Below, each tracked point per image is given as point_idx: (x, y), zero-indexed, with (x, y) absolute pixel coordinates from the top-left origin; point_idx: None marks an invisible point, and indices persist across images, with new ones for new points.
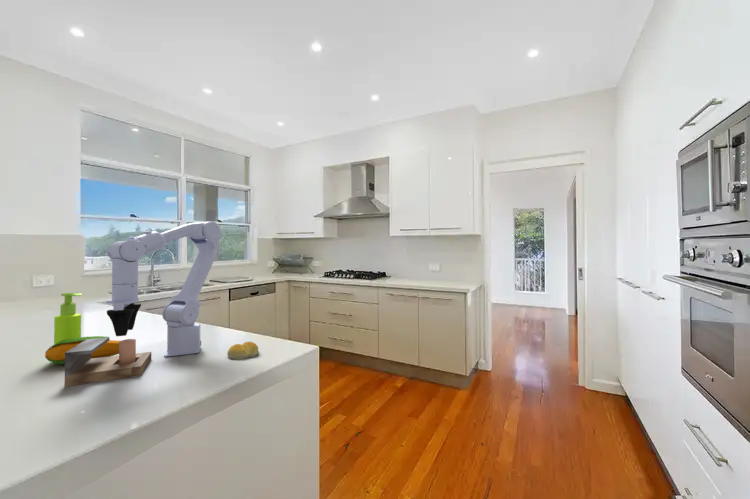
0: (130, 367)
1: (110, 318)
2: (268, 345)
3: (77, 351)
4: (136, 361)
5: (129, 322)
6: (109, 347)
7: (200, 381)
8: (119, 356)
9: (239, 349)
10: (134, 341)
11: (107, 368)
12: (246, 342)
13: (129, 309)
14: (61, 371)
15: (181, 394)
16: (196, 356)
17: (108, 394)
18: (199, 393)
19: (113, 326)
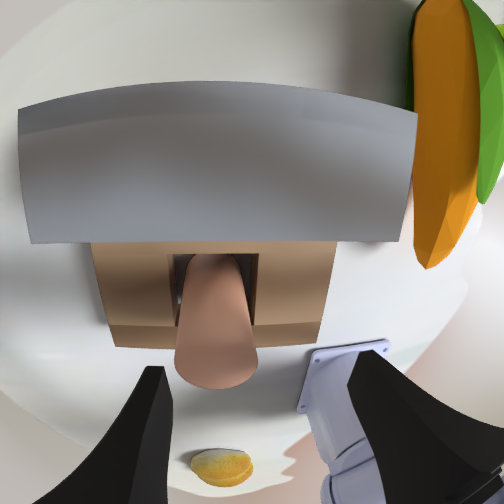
0: (108, 321)
1: (65, 480)
2: (271, 474)
3: (20, 172)
4: None
5: (372, 414)
6: (429, 196)
7: (67, 410)
8: (196, 287)
9: (200, 473)
10: (201, 384)
11: (119, 248)
12: (228, 484)
13: (412, 495)
14: (334, 37)
15: (15, 382)
16: (267, 410)
17: (8, 274)
18: (21, 399)
19: (115, 422)
